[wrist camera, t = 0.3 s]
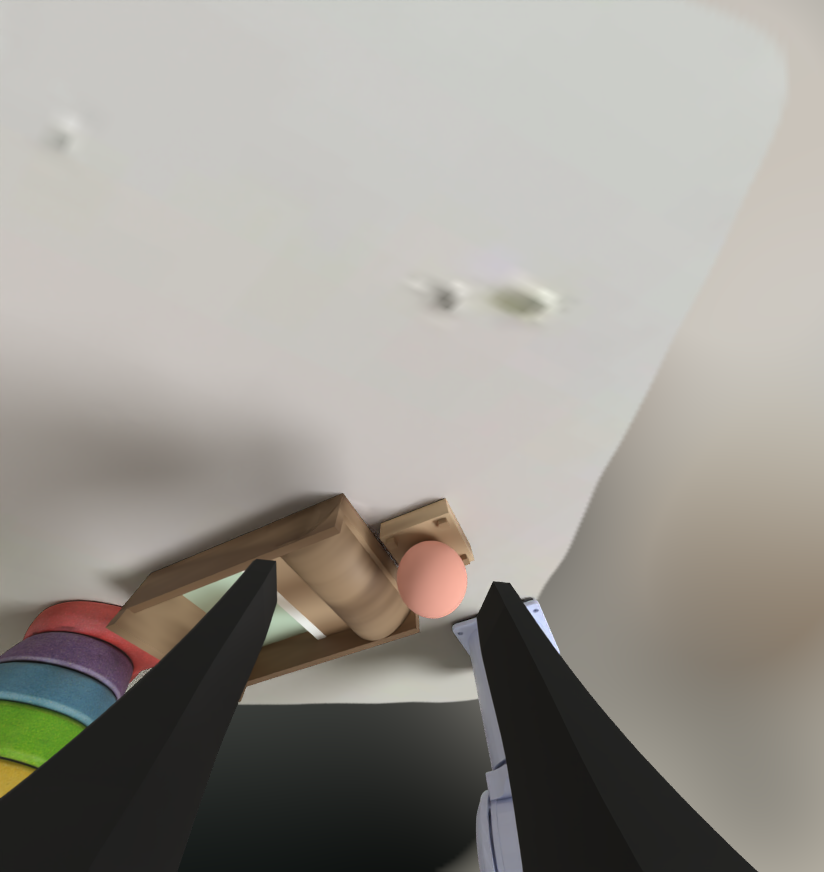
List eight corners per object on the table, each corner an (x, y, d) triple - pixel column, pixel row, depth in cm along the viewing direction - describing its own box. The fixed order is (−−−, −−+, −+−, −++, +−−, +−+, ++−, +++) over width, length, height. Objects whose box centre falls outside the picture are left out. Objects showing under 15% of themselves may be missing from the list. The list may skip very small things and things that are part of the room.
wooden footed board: (470, 544, 23) (475, 564, 21) (410, 565, 24) (411, 586, 22) (445, 498, 21) (449, 516, 19) (380, 523, 21) (379, 543, 20)
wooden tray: (415, 565, 28) (420, 646, 22) (266, 617, 31) (232, 703, 24) (349, 468, 23) (331, 539, 16) (176, 542, 25) (105, 627, 19)
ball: (468, 559, 21) (484, 621, 18) (413, 578, 22) (416, 642, 18) (446, 517, 20) (458, 576, 16) (385, 539, 20) (382, 601, 16)
